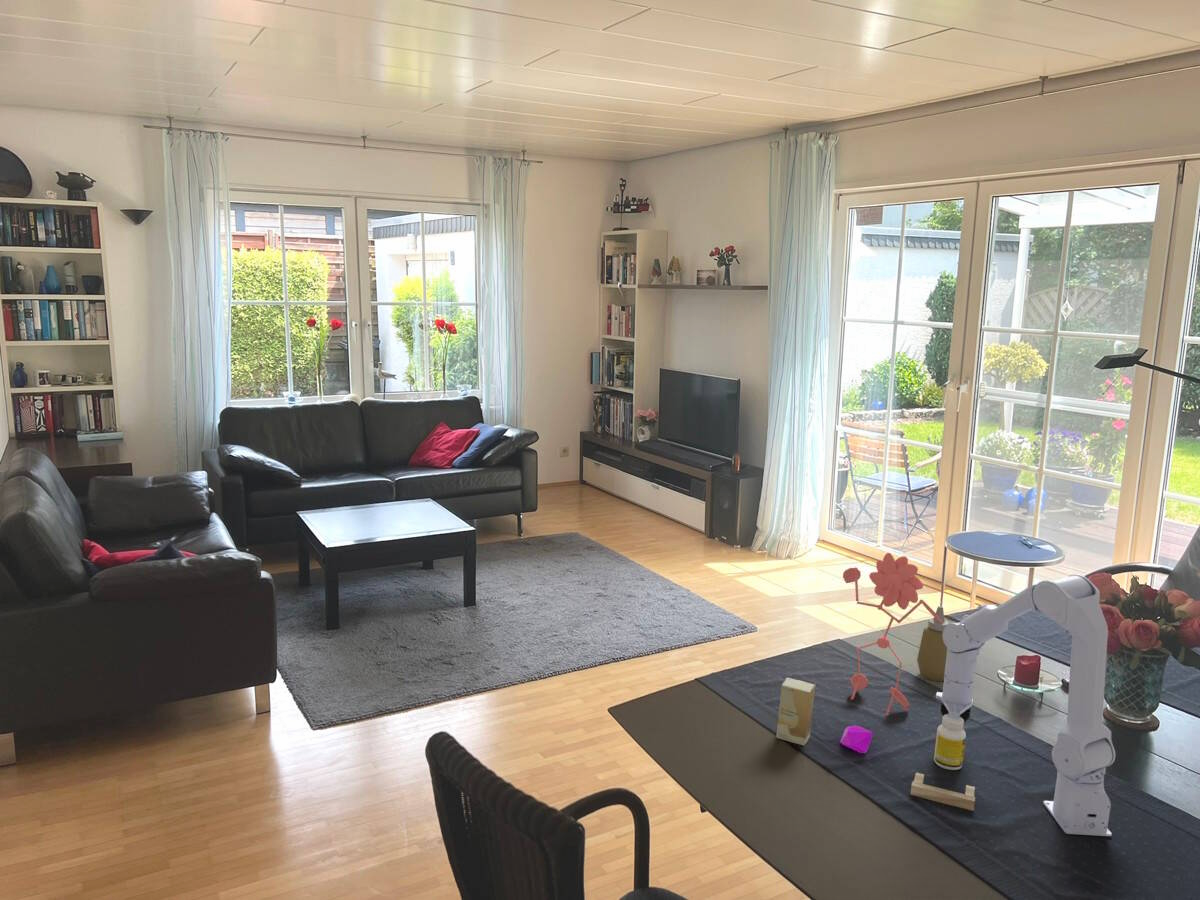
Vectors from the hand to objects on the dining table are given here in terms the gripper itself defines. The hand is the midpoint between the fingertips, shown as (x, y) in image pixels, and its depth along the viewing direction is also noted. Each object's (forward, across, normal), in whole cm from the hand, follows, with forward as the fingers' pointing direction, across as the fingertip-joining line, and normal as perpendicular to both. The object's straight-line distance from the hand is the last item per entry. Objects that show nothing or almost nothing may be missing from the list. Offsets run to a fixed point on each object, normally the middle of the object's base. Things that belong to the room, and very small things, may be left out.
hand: (952, 738), depth 183 cm
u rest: (+2, +20, 0) cm, 20 cm away
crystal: (+2, +10, -18) cm, 21 cm away
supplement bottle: (+2, +8, 0) cm, 8 cm away
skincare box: (+2, +12, -30) cm, 33 cm away
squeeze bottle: (+2, -34, -7) cm, 34 cm away
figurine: (+2, -15, -15) cm, 22 cm away
